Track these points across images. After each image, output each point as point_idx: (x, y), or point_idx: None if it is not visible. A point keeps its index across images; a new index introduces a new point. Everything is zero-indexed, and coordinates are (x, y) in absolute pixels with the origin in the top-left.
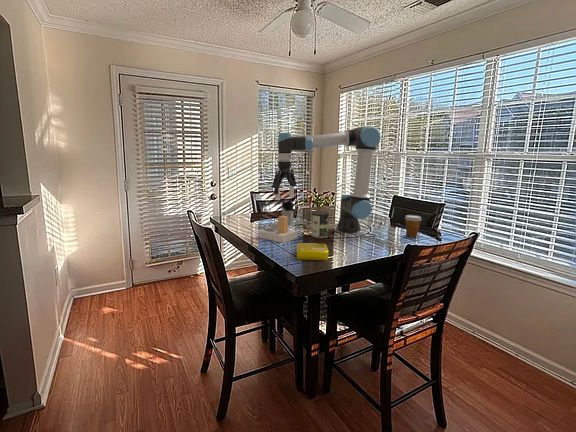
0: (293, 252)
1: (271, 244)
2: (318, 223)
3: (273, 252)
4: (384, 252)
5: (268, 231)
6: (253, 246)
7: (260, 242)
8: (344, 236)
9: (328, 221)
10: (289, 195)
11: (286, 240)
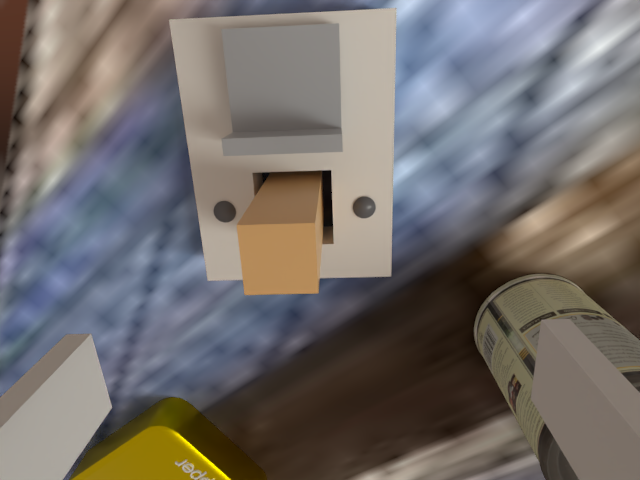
0: (134, 400)
1: (139, 230)
2: (513, 411)
3: (49, 335)
4: None
5: (217, 110)
6: (17, 178)
7: (110, 144)
8: None
9: None
10: (555, 345)
11: None
